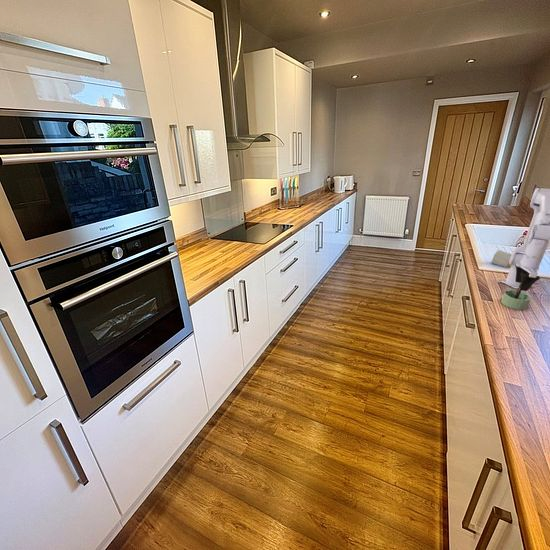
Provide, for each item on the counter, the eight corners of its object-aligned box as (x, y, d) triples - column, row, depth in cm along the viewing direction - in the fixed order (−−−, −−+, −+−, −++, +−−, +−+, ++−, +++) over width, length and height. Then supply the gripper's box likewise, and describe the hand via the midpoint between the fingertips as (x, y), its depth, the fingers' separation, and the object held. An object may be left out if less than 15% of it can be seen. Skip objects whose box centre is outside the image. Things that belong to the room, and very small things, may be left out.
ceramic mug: (507, 269, 152) (512, 256, 149) (490, 264, 158) (494, 251, 155) (514, 264, 158) (519, 251, 155) (497, 260, 164) (502, 247, 161)
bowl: (512, 297, 127) (515, 288, 125) (532, 308, 119) (536, 298, 117) (495, 300, 125) (499, 291, 123) (515, 311, 117) (519, 301, 115)
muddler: (509, 302, 122) (517, 282, 118) (513, 301, 123) (520, 281, 119) (515, 304, 120) (523, 285, 116) (518, 303, 121) (526, 284, 117)
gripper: (516, 247, 120) (505, 277, 126) (525, 260, 108) (513, 292, 114) (537, 250, 117) (525, 280, 123) (549, 263, 105) (535, 295, 111)
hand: (520, 286), depth 118 cm, fingers open, 7 cm apart
